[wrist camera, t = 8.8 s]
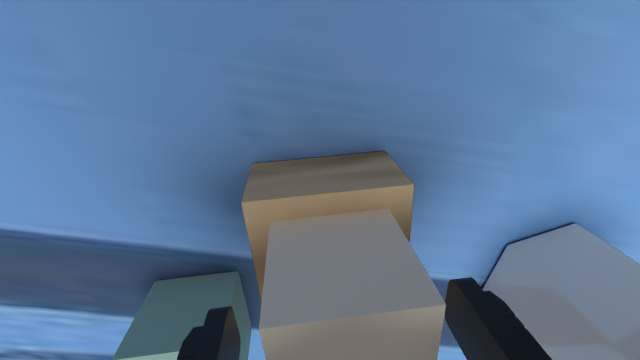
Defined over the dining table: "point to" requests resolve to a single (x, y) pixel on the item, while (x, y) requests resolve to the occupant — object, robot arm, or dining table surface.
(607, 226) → the dining table surface
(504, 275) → the jar
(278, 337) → the cream cube
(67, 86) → the dining table surface
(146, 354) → the teal cube
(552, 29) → the dining table surface
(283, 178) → the base block
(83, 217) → the dining table surface
